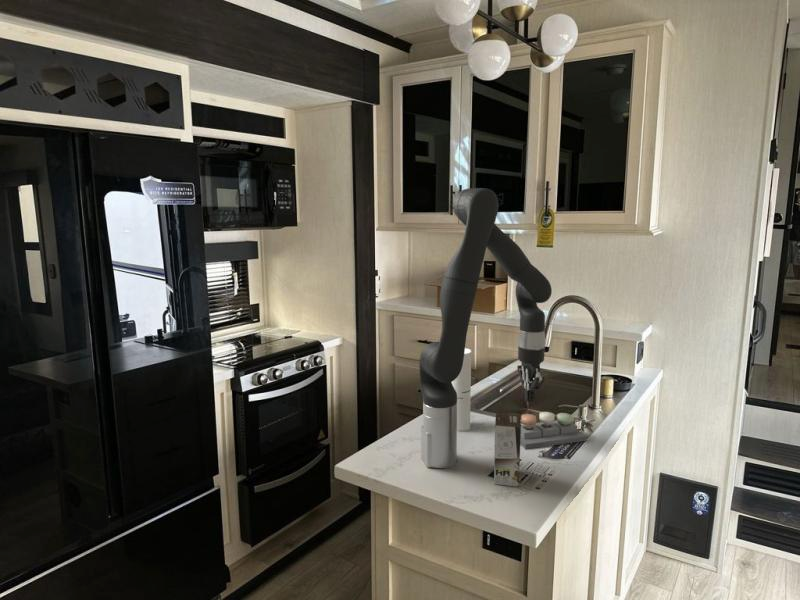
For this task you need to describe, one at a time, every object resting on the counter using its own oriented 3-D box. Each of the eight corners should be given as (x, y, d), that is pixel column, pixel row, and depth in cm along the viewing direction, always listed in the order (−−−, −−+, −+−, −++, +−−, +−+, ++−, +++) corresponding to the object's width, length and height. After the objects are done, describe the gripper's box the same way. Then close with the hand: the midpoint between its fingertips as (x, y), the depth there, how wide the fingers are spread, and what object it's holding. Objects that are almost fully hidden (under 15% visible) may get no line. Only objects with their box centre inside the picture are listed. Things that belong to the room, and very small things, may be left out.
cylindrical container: (474, 428, 172) (475, 352, 167) (453, 432, 170) (454, 355, 165) (463, 420, 179) (464, 346, 174) (443, 423, 176) (444, 349, 171)
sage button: (561, 430, 165) (562, 419, 164) (553, 424, 169) (554, 413, 168) (574, 428, 166) (575, 417, 165) (566, 422, 170) (567, 412, 169)
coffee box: (519, 487, 138) (521, 427, 135) (493, 484, 139) (494, 425, 136) (518, 469, 147) (520, 412, 144) (494, 467, 148) (495, 411, 145)
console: (525, 449, 158) (525, 438, 158) (507, 431, 170) (507, 421, 169) (586, 440, 163) (587, 430, 163) (565, 424, 175) (565, 414, 174)
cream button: (543, 429, 163) (544, 418, 163) (536, 423, 167) (536, 412, 167) (556, 427, 164) (557, 416, 164) (549, 421, 168) (549, 411, 168)
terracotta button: (525, 431, 162) (525, 420, 161) (518, 425, 166) (518, 414, 165) (538, 429, 163) (539, 418, 162) (531, 424, 167) (532, 413, 166)
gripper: (509, 340, 165) (508, 394, 168) (530, 352, 152) (528, 410, 155) (532, 338, 167) (530, 392, 170) (554, 349, 154) (552, 408, 157)
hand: (529, 401), depth 163 cm, fingers closed
